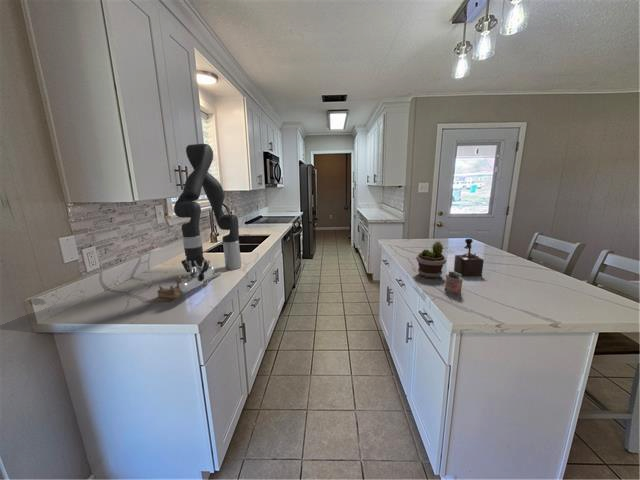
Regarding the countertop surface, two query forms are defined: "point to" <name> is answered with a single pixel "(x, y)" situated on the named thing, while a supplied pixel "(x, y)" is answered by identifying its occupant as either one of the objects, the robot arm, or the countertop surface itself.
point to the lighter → (453, 283)
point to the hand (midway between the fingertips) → (198, 280)
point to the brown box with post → (468, 263)
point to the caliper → (210, 278)
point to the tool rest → (169, 292)
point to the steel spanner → (195, 280)
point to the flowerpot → (431, 262)
